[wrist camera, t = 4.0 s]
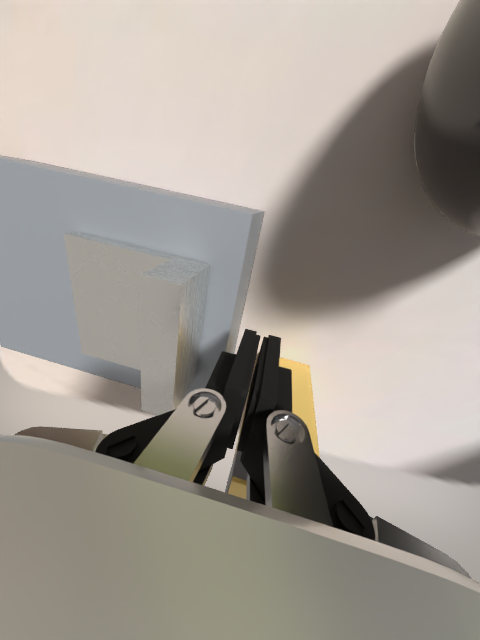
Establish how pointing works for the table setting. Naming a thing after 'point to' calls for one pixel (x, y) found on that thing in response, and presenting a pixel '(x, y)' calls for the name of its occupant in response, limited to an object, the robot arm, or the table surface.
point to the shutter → (140, 313)
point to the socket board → (122, 226)
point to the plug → (300, 407)
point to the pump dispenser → (452, 121)
